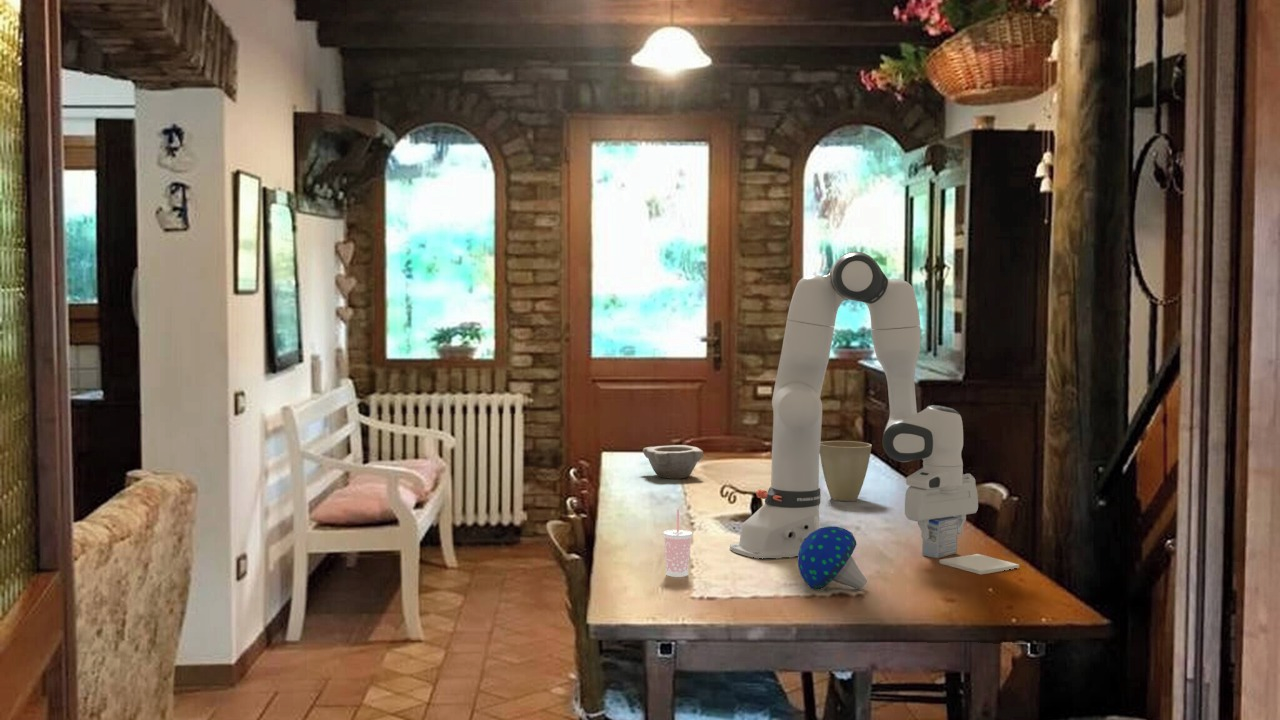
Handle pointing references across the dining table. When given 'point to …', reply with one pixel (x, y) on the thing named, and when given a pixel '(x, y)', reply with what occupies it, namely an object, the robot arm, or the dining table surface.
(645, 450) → the mortar
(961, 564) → the ceramic tile
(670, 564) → the beverage cup
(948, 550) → the medicine box
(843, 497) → the plant pot
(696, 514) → the dining table surface
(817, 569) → the mushroom
